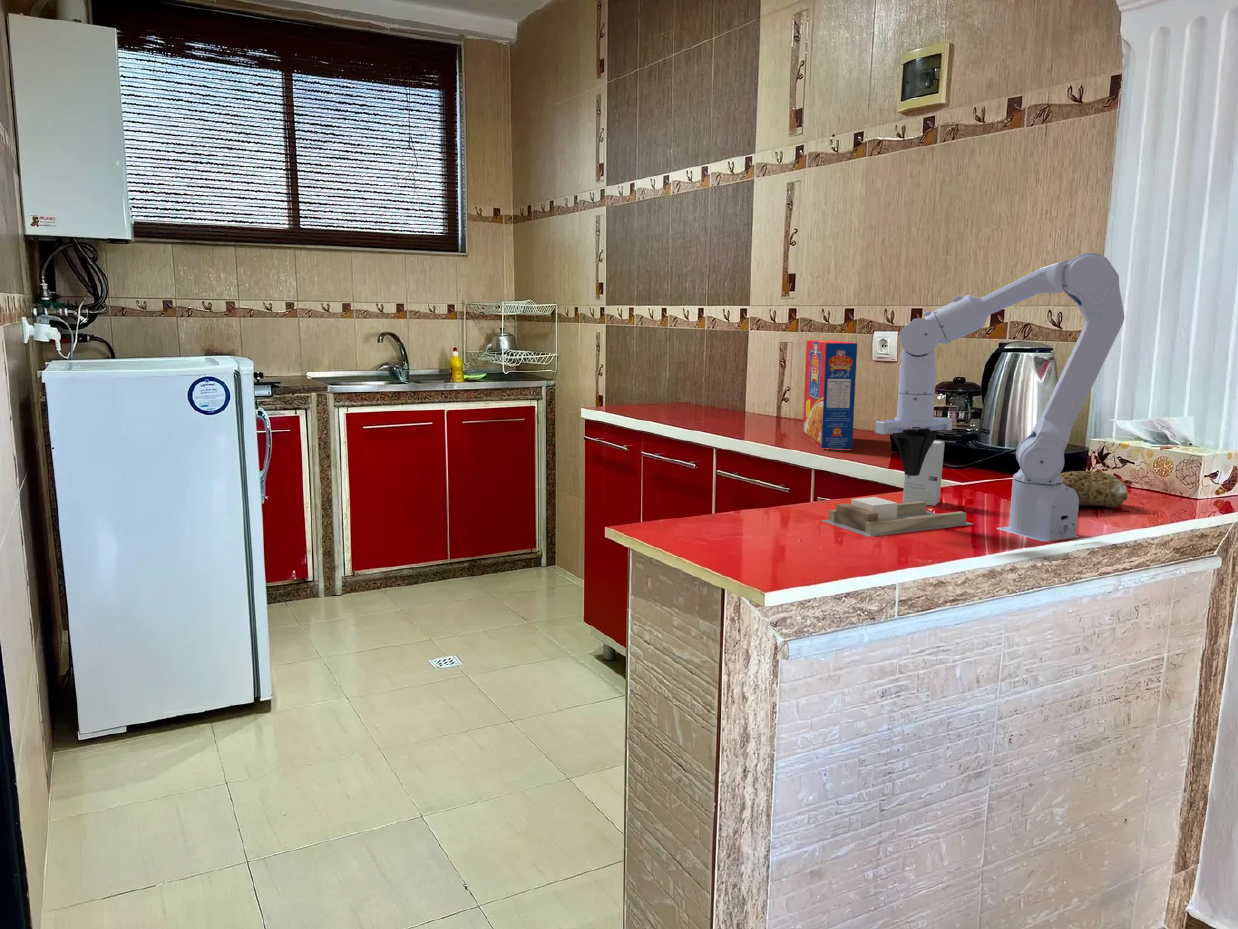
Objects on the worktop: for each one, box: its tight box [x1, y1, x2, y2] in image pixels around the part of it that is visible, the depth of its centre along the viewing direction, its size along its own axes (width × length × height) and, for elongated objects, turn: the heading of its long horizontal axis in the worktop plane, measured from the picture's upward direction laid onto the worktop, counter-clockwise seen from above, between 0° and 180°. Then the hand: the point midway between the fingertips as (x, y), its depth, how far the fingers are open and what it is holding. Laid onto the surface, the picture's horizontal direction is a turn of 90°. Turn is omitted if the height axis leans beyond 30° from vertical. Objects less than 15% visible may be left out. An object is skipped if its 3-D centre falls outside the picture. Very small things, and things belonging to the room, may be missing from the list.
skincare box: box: [902, 439, 946, 506], centre depth 164 cm, size 6×4×12 cm
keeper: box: [850, 496, 898, 520], centre depth 146 cm, size 5×5×4 cm
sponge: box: [1059, 470, 1129, 508], centre depth 164 cm, size 13×8×20 cm
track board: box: [820, 510, 973, 538], centre depth 148 cm, size 12×22×1 cm, turn 114°
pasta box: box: [802, 339, 858, 450], centre depth 244 cm, size 28×8×28 cm, turn 178°
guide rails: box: [828, 501, 967, 535], centre depth 148 cm, size 10×20×3 cm, turn 114°
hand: (911, 474), depth 148 cm, fingers closed
